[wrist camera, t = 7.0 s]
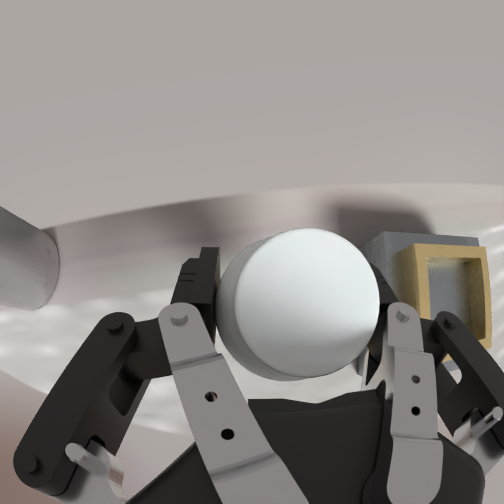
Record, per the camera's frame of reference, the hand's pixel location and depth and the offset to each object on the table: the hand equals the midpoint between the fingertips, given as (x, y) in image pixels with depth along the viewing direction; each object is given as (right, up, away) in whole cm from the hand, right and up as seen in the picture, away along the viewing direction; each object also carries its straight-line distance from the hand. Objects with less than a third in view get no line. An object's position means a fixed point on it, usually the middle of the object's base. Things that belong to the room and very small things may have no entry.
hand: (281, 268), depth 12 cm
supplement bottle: (0, -3, +4) cm, 5 cm away
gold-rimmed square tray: (+15, -5, +13) cm, 20 cm away
